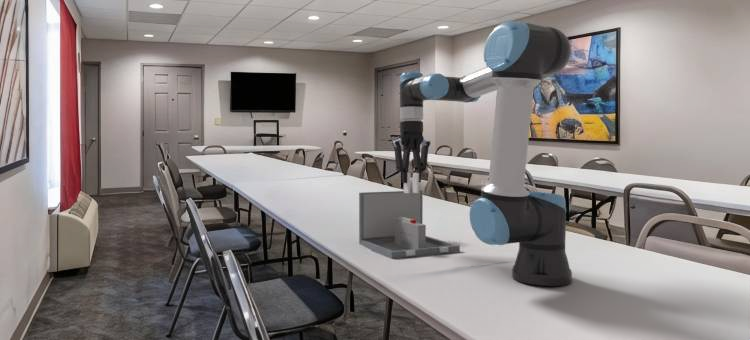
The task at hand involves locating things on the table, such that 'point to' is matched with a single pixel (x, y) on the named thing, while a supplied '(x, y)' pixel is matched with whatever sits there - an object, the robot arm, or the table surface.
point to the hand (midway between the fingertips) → (411, 192)
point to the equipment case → (393, 222)
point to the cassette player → (409, 233)
